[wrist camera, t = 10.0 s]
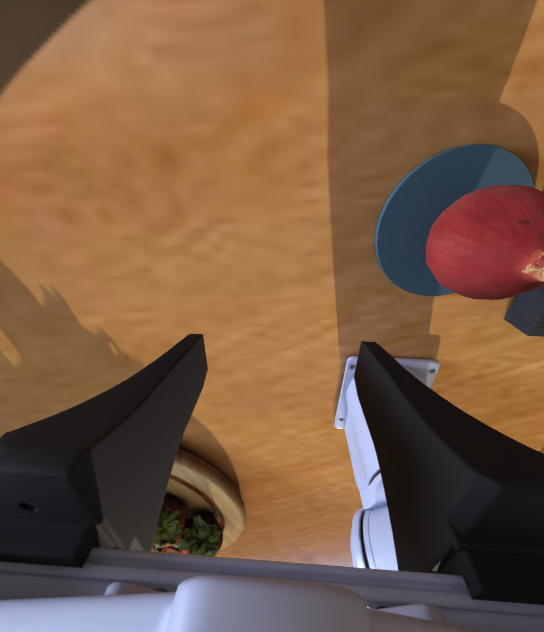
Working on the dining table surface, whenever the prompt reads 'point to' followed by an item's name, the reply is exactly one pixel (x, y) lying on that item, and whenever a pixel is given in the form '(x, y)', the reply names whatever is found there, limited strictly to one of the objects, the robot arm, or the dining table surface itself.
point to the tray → (528, 312)
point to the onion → (490, 243)
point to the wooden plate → (198, 510)
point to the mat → (436, 208)
